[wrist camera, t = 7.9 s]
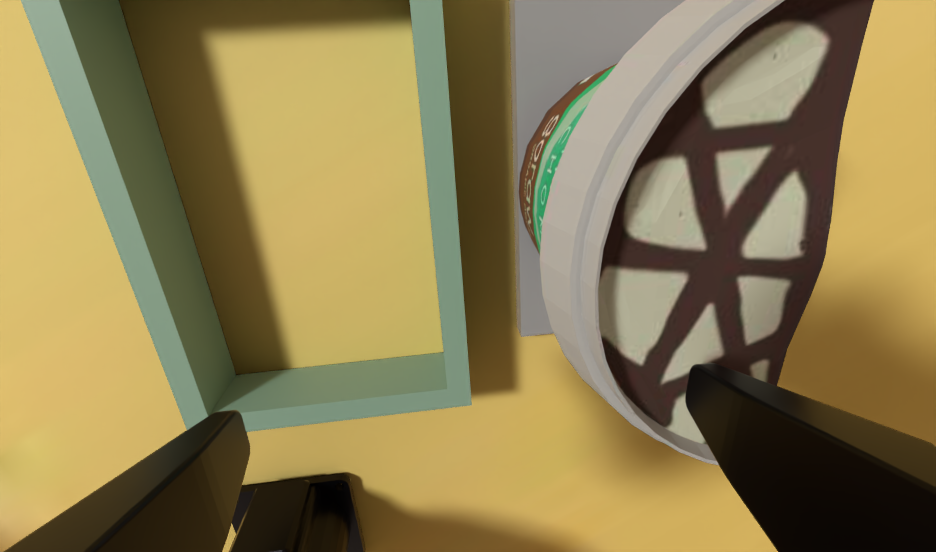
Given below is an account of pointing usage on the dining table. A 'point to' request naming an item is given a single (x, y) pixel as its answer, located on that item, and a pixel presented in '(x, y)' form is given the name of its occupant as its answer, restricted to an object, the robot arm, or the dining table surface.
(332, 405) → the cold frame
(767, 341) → the food container
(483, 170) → the dining table surface
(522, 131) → the slate tile
